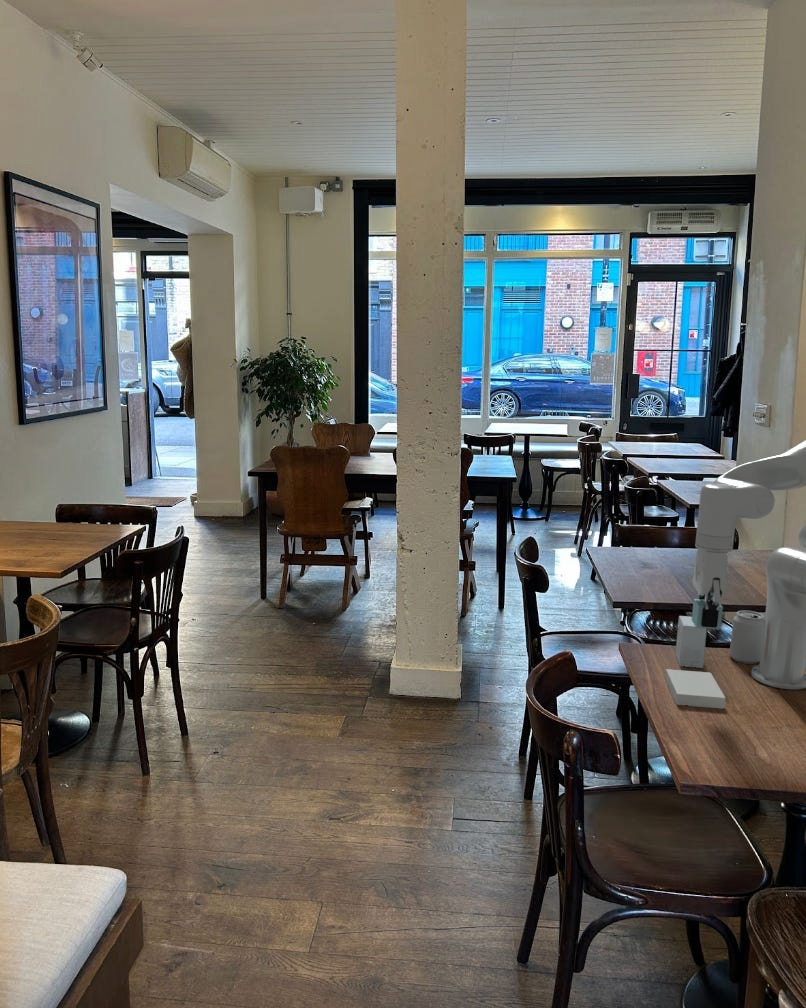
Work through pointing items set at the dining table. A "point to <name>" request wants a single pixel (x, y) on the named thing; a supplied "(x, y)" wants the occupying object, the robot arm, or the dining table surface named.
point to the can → (747, 637)
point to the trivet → (694, 689)
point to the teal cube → (697, 614)
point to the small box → (690, 643)
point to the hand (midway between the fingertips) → (706, 621)
